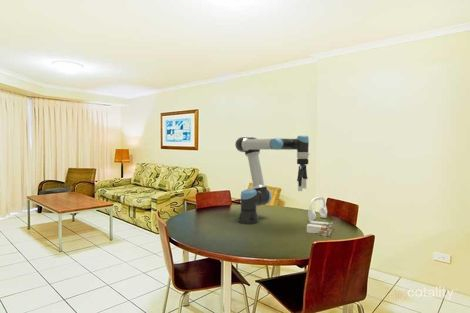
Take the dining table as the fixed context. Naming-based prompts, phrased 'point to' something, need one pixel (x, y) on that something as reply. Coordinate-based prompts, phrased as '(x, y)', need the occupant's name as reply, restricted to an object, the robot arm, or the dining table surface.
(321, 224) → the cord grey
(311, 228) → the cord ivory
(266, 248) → the dining table surface
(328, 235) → the comb rack
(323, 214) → the headset
